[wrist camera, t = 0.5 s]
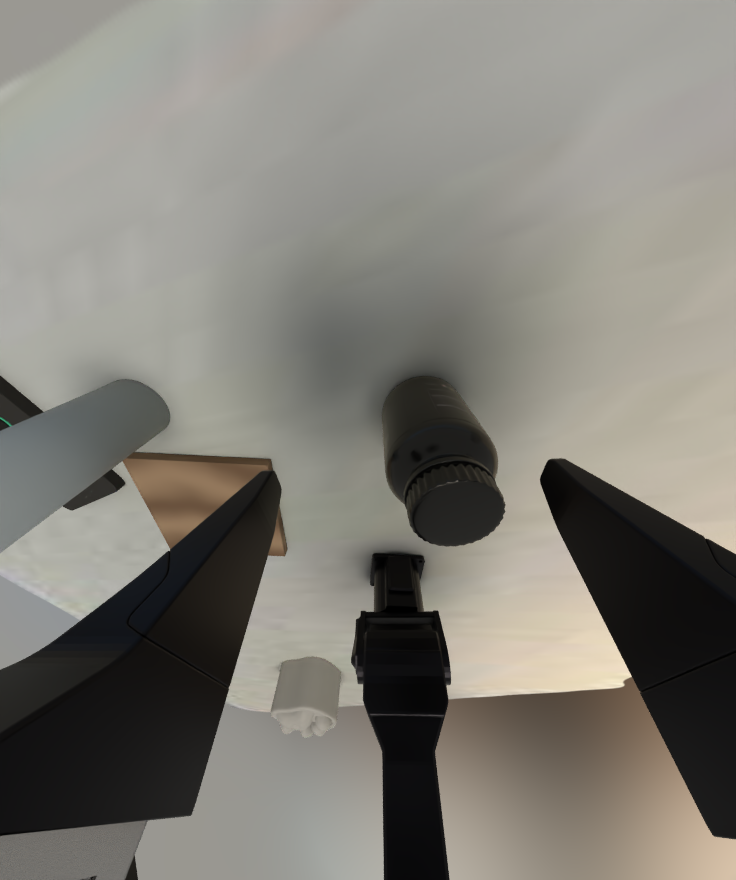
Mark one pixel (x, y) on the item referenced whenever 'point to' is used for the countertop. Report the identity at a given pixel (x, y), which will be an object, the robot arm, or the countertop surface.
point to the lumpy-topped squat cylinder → (307, 696)
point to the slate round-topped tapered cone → (71, 450)
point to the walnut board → (193, 490)
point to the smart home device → (10, 407)
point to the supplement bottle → (440, 463)
